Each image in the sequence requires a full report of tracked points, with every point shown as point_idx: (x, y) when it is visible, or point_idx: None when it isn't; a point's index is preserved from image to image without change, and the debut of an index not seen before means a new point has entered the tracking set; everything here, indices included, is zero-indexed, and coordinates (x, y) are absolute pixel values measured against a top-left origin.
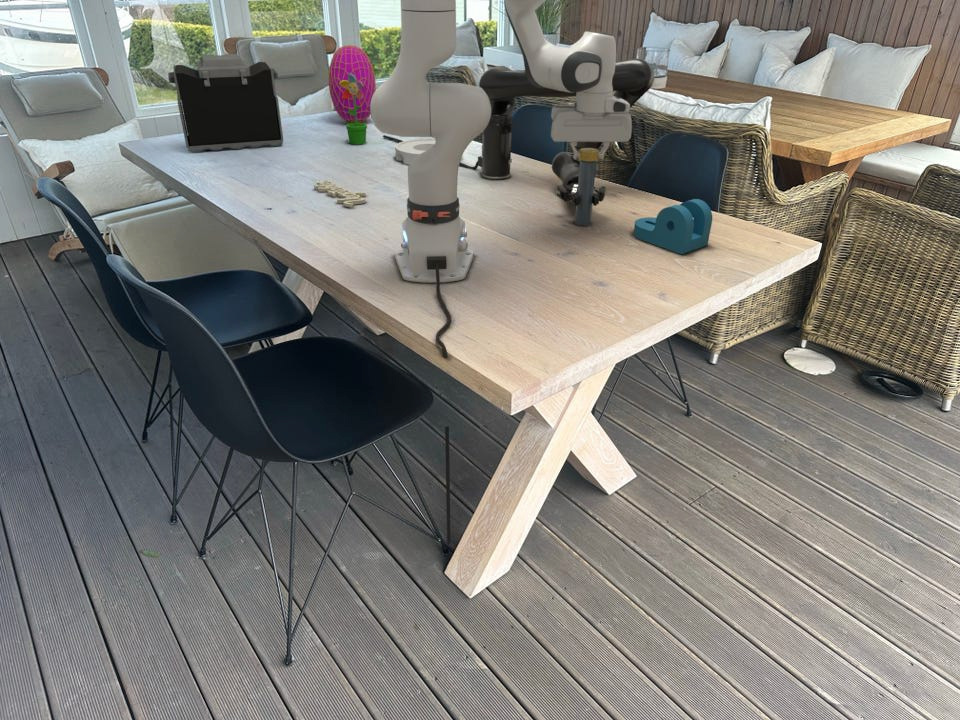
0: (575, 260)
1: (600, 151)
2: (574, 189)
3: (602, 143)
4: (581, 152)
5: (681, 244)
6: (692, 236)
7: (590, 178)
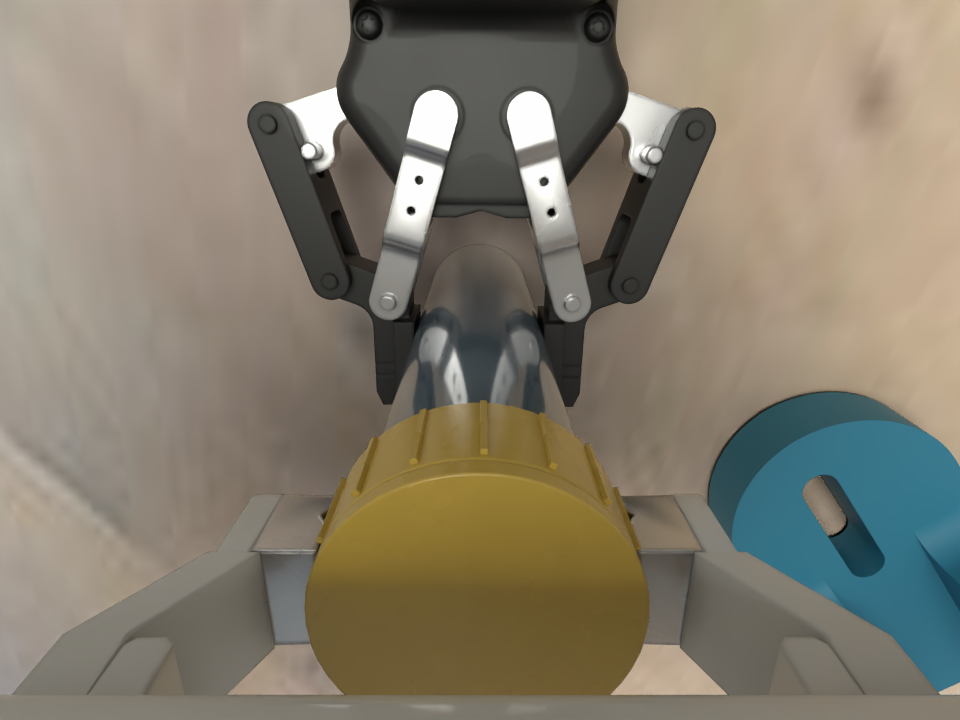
0: None
1: (685, 575)
2: (400, 247)
3: (783, 653)
4: (338, 668)
5: None
6: (939, 671)
7: None
